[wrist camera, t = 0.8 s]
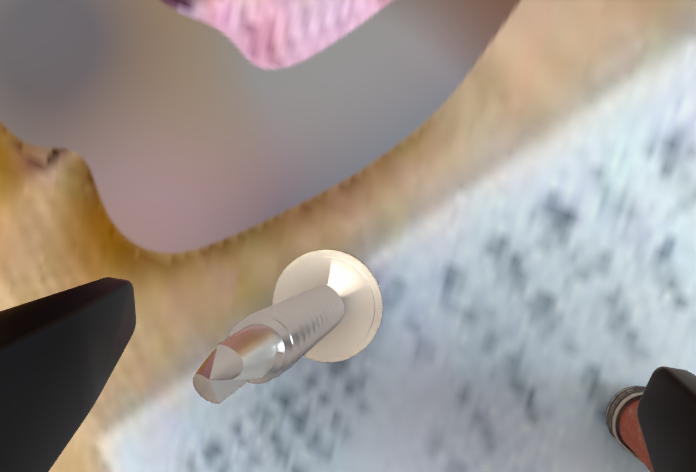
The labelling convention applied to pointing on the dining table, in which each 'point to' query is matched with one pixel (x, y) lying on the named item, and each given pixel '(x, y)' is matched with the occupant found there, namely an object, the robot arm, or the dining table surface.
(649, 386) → the robot arm
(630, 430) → the lighter
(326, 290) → the screw
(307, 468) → the dining table surface
